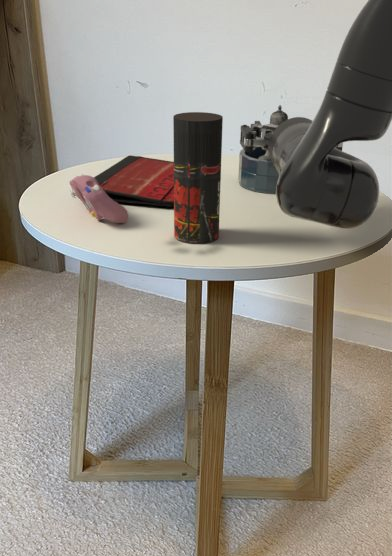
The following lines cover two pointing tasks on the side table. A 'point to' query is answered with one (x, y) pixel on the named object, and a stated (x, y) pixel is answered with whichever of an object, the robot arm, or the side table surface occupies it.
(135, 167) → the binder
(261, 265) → the side table surface
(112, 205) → the video game controller
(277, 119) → the salt shaker
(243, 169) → the pot
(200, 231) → the deodorant
